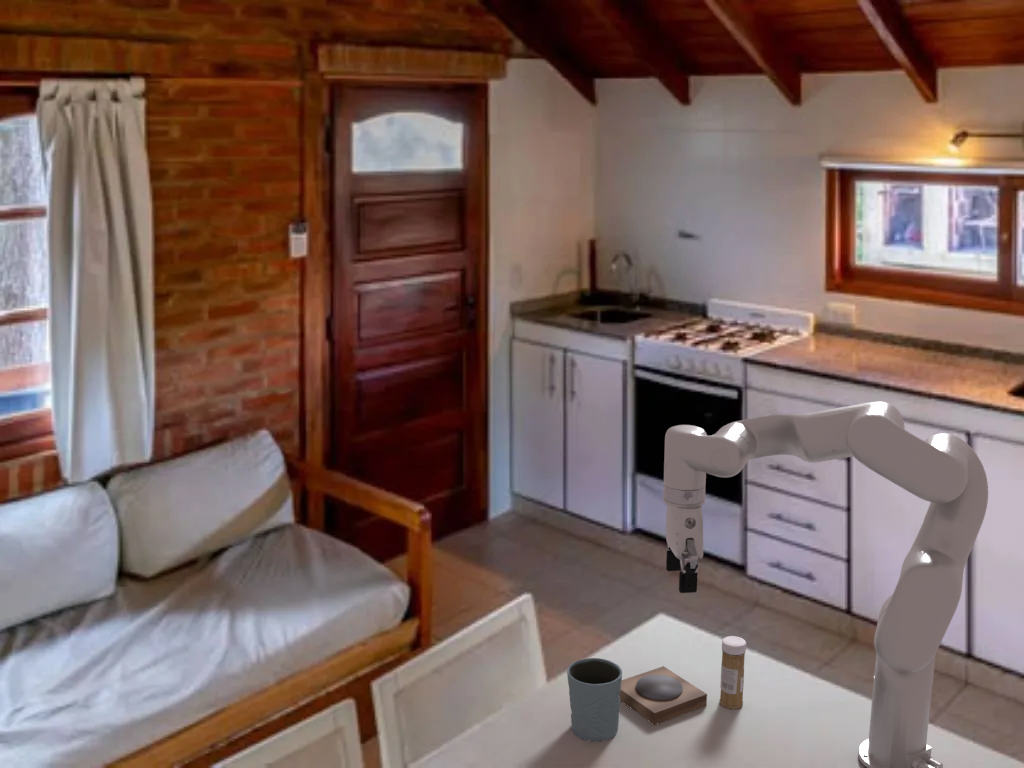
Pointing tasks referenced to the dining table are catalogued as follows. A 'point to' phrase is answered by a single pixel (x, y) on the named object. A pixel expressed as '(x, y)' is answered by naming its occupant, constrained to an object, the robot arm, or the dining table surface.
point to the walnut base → (661, 695)
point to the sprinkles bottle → (732, 672)
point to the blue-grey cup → (594, 698)
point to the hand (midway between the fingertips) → (681, 581)
